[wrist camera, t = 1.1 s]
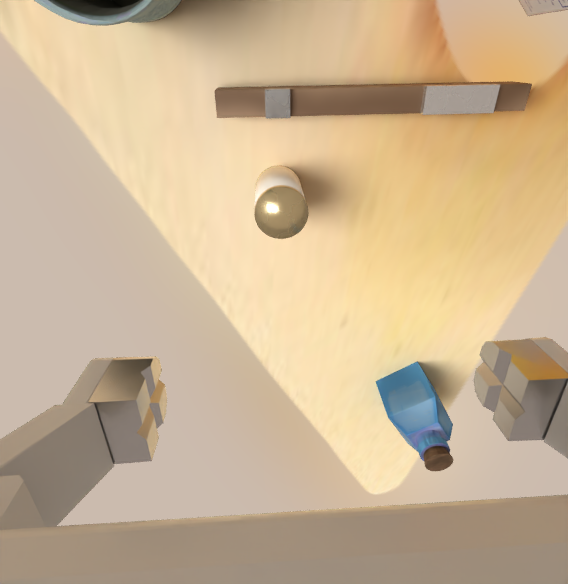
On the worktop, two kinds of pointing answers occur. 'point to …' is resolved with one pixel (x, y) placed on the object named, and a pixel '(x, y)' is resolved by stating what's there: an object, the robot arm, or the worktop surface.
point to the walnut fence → (371, 99)
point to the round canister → (280, 203)
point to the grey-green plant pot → (110, 10)
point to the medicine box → (543, 6)
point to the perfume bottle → (418, 414)
